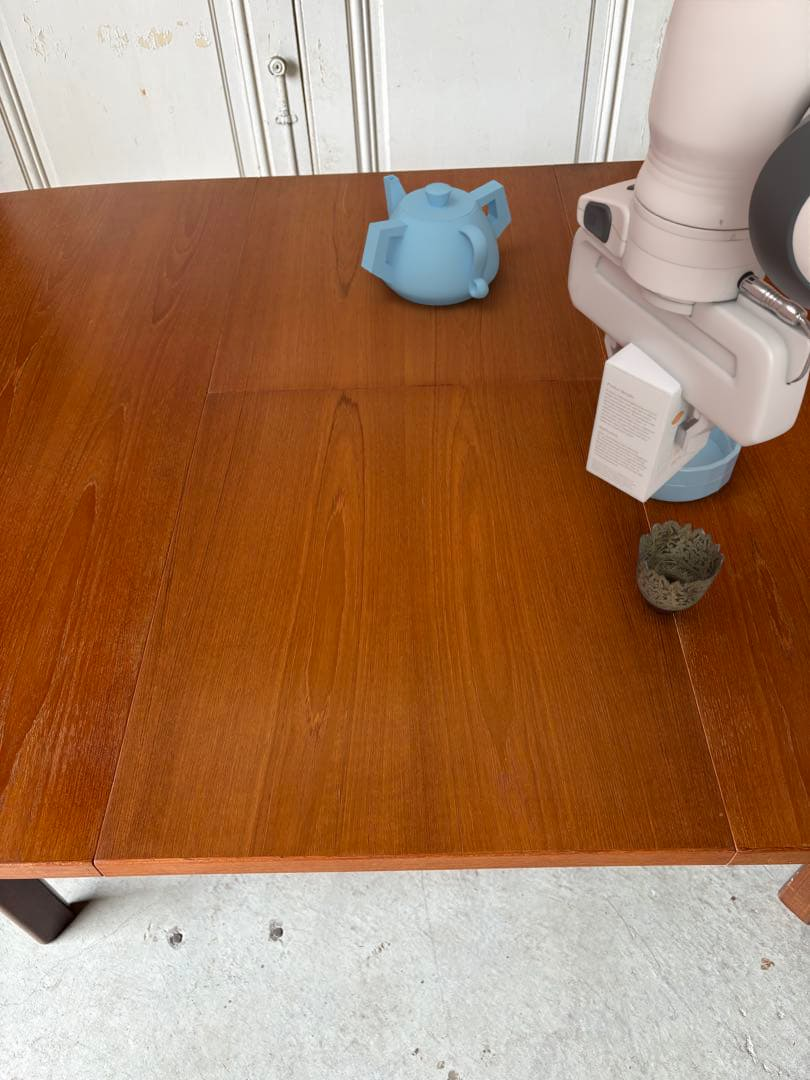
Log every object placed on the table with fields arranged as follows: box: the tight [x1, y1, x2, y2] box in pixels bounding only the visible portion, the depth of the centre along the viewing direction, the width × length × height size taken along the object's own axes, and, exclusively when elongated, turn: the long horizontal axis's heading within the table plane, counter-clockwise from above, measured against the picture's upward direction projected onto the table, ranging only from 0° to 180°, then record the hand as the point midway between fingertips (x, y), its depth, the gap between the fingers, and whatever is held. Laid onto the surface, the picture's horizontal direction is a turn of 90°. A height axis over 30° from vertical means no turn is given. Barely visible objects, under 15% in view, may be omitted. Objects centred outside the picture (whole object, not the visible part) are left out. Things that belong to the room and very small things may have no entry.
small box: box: [585, 343, 700, 503], centre depth 60 cm, size 8×6×10 cm
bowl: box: [649, 427, 743, 503], centre depth 92 cm, size 14×14×5 cm
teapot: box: [360, 173, 512, 306], centre depth 116 cm, size 19×19×14 cm
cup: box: [636, 519, 725, 616], centre depth 77 cm, size 8×7×8 cm
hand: (653, 415), depth 61 cm, fingers closed on small box, 6 cm apart
